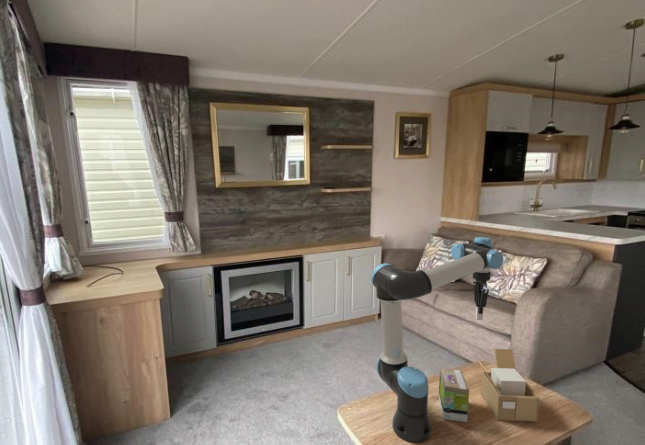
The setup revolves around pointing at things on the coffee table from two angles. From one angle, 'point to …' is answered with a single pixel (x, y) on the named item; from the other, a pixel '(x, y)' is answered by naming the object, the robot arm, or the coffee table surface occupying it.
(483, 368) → the flap left
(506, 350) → the flap far
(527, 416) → the carton
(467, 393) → the tea box
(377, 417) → the coffee table surface
